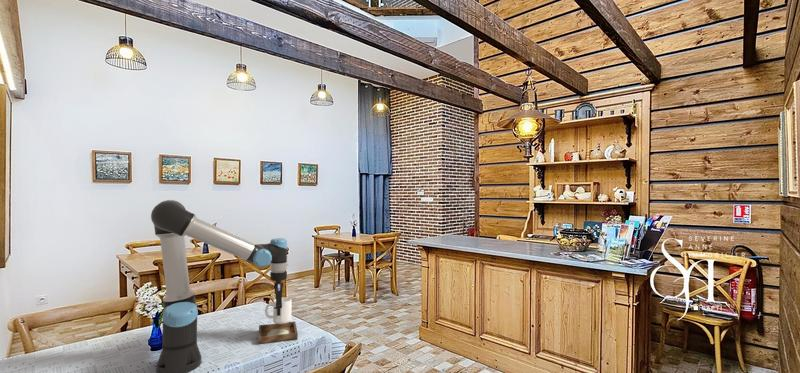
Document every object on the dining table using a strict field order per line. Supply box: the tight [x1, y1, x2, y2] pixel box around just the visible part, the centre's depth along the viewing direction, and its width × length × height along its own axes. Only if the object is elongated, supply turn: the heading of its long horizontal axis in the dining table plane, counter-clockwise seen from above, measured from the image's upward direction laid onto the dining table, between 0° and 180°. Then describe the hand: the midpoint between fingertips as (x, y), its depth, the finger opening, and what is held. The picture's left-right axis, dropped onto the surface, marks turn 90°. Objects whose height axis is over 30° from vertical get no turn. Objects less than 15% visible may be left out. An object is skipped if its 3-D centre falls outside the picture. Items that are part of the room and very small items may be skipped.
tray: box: [257, 321, 299, 345], centre depth 175 cm, size 17×16×3 cm
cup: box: [264, 296, 293, 324], centre depth 175 cm, size 8×12×10 cm
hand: (278, 318), depth 175 cm, fingers closed on cup, 8 cm apart
